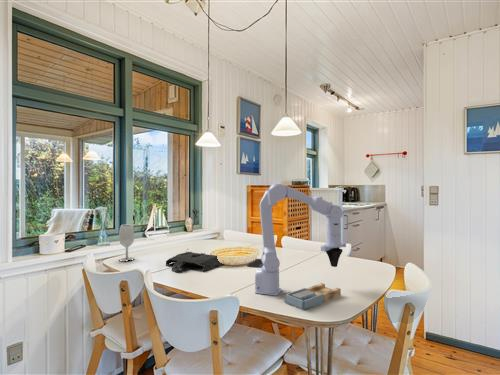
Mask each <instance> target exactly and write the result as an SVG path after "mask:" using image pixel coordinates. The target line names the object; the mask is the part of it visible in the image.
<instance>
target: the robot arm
mask: <svg viewBox="0 0 500 375" xmlns="http://www.w3.org/2000/svg"><path fill="white" fill-rule="evenodd" d="M285 198H286V199H289V198H292V199H295V200H297V201H300V202H302V203H305V204H307V205H308V206H309V208H310V210H313V211H315V212H317V213H319V214H321V215H323V216H325V217H326V243H325V244H323V245H321V246H320V251H321V252H324V253H326V255H327V257H328V259H329V263H330V266H331V267H334V268H336V267H337V268H338V263H339V260H340V257H341V254H342V253H343V249H342V248H346V247H347V242H346V241H342V238H341V237H342V227H341V226H342V224H341V223H342V222H341V221H342V220H341V219H342V217H343V215H344V212H343V209H342V208H341V207H340V206H339V205H336V204H333V202H332V201H327V200H325V199H323V197H321V196H319V195H318V196H313V197H311V196H310V195H308V194H305V192H304V193H303V192H301V191H300V190H298V189H295V188H293V187H291V186H288V185H283V184H282V183H274V184H271V185H269V187H268V188H267V189H265V192H264V194H263V196H262V197H261V200H260V202H259V213H260V214H259V215H260V227H261V237H262V239H261V240H262V254H261V258H260V259H261V261H262V263H263V264H264V265H263V266H262V267H260V268H256V271H255V276H254V278H255V280H254V281H255V282H254V284H255V286H254V288H255V290H254V293H255V294H262V295H268V296H269V295H270V296H278V295H279V294H280V293H281V292H282V290H283V288H282V287H280V264H281V262H280V259H279V258H278V256H277V249H276V244H275V243H276V242H275V234H274V223H273V222H274V221H273V209H272V208H273V207H274V206H275V205H276V204H277V203H278V202H280V201H281V200H283V199H285Z"/></svg>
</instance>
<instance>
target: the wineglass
mask: <svg viewBox="0 0 500 375" xmlns="http://www.w3.org/2000/svg"><path fill="white" fill-rule="evenodd" d="M118 232H119V233H118V240H119V244H120V245H121V246H122V247H124V249H125V257H121V258H119V259H118V261H119V260H122V261H121V262H124V261H126V260H132V259H134V260H136V258H135V257H134V256H129V248H130V247H131V245H133V244H134V240H135V232H134V227H133V224H130V223H129V224H126V223H125V224H121V225H120V227H119V231H118ZM132 261H133V260H132ZM126 262H127V261H126Z"/></svg>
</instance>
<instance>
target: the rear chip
mask: <svg viewBox="0 0 500 375" xmlns="http://www.w3.org/2000/svg"><path fill="white" fill-rule="evenodd" d="M300 293H303V294H306V295H308V299H309V298H312V297H315V293H314V292H312V291H309V290H305V291H302V292H300Z"/></svg>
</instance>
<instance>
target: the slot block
mask: <svg viewBox="0 0 500 375" xmlns="http://www.w3.org/2000/svg"><path fill="white" fill-rule="evenodd" d="M305 288H306V290H309V291H312V292H314V293H315V296H318V295H320V294H324V302H323V303H326V302H328V301H330V300H333V299H336V298H338V297H340V296H341V288H340V287H335V288H333V289H332V288H331V287H327V286H326V284H325V283H323V282H321V283H318V284H316V285H311V286H309V287H305Z"/></svg>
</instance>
